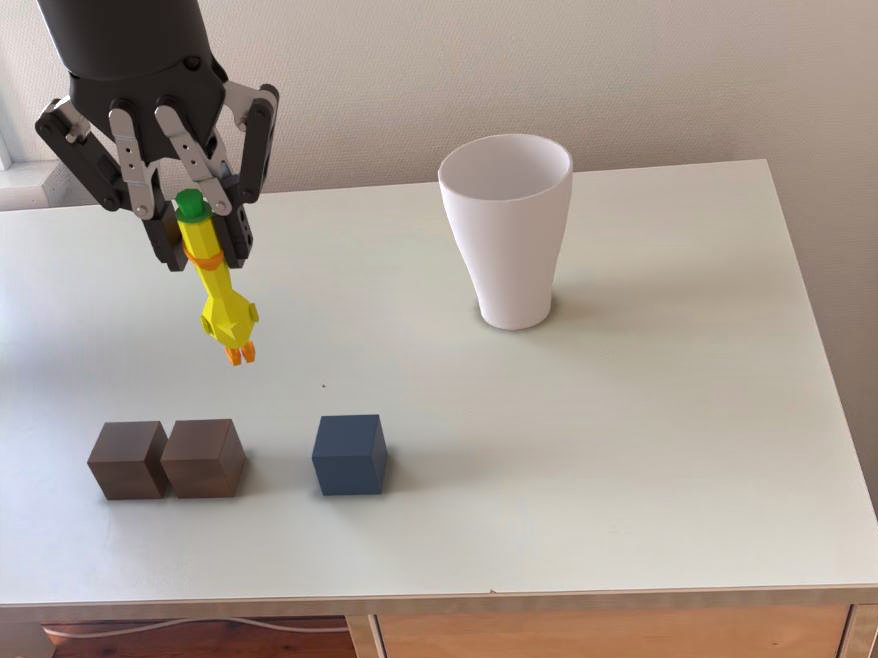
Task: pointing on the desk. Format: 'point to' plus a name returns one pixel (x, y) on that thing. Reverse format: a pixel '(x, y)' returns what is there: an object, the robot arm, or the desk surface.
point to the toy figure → (215, 279)
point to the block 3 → (350, 455)
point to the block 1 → (130, 460)
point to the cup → (509, 221)
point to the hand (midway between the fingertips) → (209, 261)
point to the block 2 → (204, 458)
